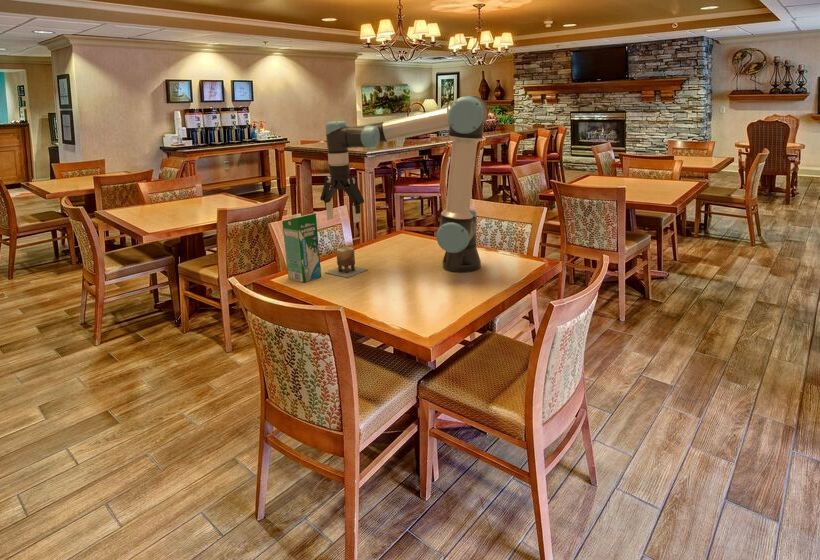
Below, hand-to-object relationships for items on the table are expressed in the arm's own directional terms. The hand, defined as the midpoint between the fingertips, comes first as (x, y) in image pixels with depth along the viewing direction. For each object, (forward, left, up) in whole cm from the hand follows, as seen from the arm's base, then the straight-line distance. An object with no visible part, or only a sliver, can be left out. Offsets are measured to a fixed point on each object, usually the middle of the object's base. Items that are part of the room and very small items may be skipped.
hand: (343, 220), depth 216 cm
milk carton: (+9, +14, -21) cm, 27 cm away
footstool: (0, 0, -20) cm, 20 cm away
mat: (0, 0, -21) cm, 21 cm away
